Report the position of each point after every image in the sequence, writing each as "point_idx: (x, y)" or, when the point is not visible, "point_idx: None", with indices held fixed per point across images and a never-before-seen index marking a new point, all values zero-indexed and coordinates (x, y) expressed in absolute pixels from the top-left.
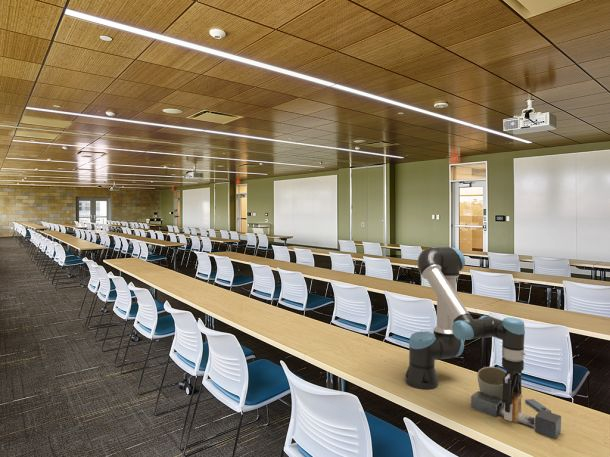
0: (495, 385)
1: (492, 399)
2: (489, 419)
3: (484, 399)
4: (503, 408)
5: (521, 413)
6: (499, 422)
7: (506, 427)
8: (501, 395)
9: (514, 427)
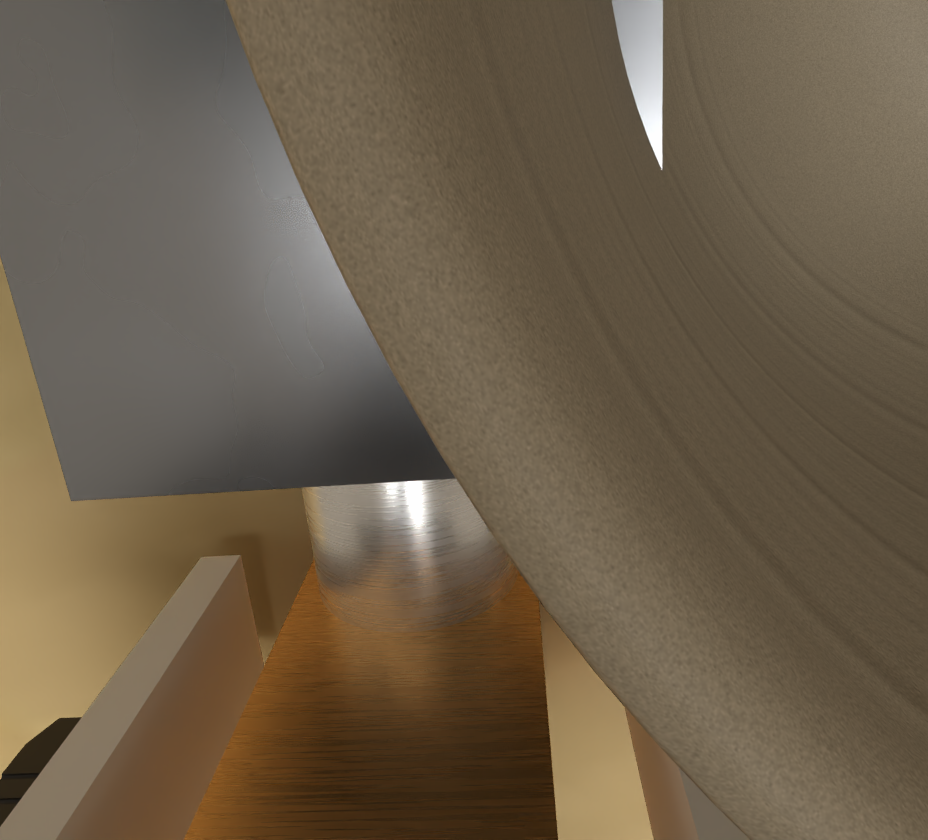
0: (465, 478)
1: (302, 241)
2: None
3: (7, 26)
4: (352, 537)
5: None
6: None
7: (59, 637)
8: (806, 393)
9: None
